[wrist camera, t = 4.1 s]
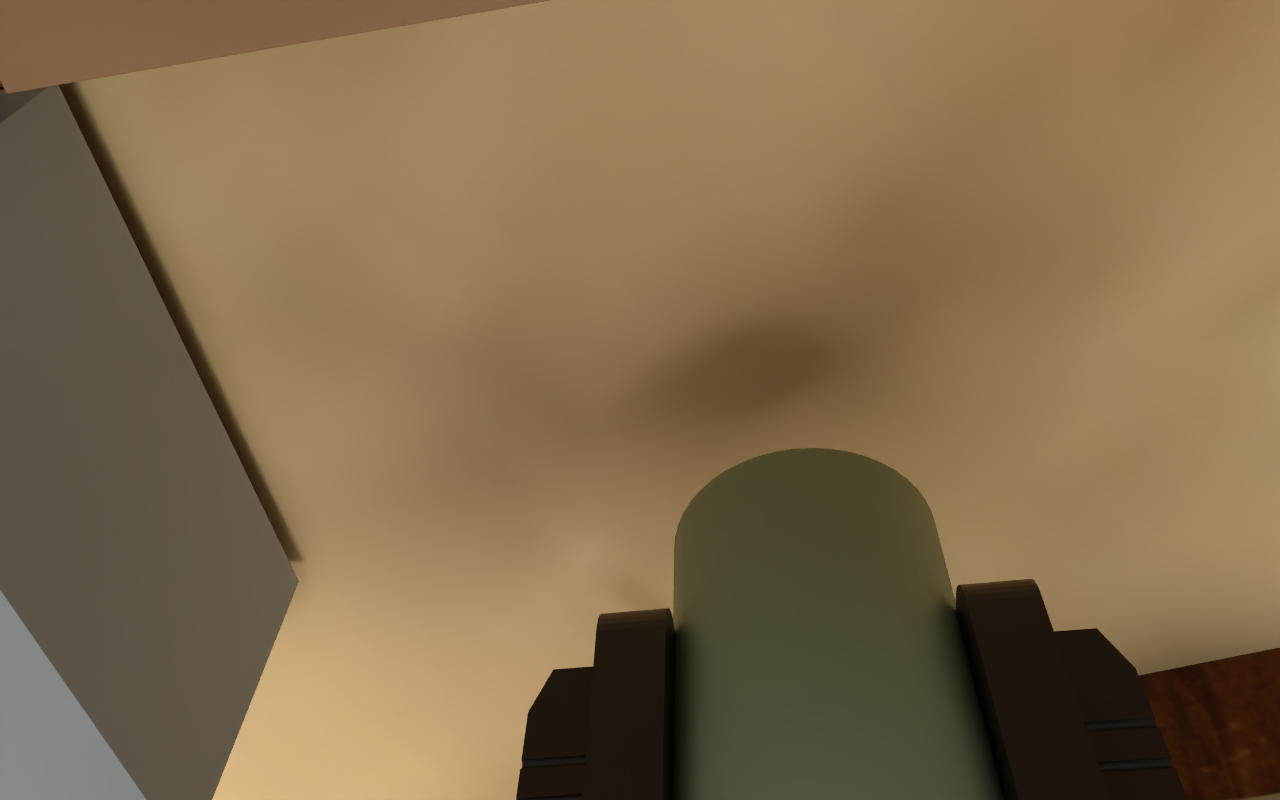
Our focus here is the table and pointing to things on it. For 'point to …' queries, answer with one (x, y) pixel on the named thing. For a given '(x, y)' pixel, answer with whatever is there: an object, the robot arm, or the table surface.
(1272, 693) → the mug
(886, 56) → the table surface
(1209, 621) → the table surface
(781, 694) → the dowel leg
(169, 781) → the hinged leg
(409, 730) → the table surface
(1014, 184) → the table surface
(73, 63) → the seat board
